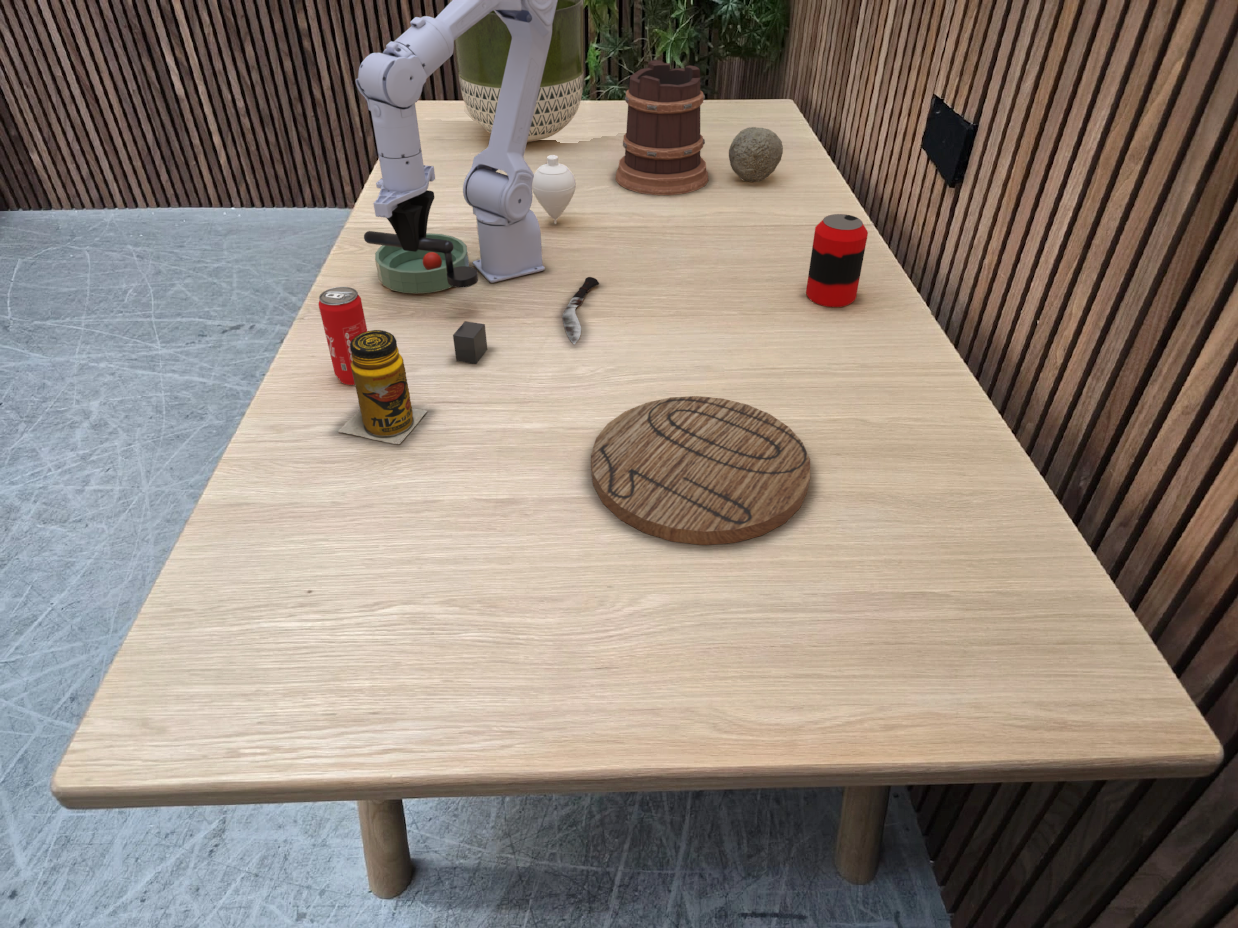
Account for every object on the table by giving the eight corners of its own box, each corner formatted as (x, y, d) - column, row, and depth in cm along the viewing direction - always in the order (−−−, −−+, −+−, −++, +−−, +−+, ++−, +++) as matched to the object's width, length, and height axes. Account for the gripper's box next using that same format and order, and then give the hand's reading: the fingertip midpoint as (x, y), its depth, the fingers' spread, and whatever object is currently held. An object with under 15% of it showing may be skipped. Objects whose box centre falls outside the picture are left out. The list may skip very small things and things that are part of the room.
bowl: (451, 249, 149) (448, 226, 147) (483, 283, 139) (480, 259, 137) (368, 267, 144) (363, 244, 141) (395, 304, 134) (391, 280, 132)
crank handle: (482, 275, 130) (478, 237, 126) (471, 289, 126) (466, 250, 123) (377, 262, 133) (370, 224, 129) (363, 275, 130) (356, 237, 126)
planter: (465, 118, 204) (452, -13, 187) (581, 115, 206) (578, -15, 189) (462, 159, 183) (446, 15, 166) (590, 154, 185) (588, 12, 169)
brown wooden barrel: (696, 152, 186) (701, 50, 174) (717, 193, 169) (725, 82, 156) (608, 155, 185) (607, 52, 172) (620, 197, 167) (620, 86, 155)
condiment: (399, 445, 106) (383, 359, 99) (337, 432, 108) (317, 347, 101) (428, 412, 112) (414, 328, 104) (368, 400, 114) (350, 317, 106)
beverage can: (366, 389, 116) (348, 307, 108) (329, 384, 117) (309, 303, 109) (382, 368, 120) (366, 287, 112) (346, 364, 121) (328, 284, 113)
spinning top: (526, 229, 156) (521, 160, 148) (545, 213, 161) (541, 146, 154) (566, 235, 153) (563, 167, 146) (583, 219, 159) (582, 152, 152)
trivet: (750, 577, 89) (752, 563, 88) (548, 492, 99) (547, 479, 98) (841, 449, 106) (843, 436, 105) (659, 387, 116) (659, 375, 115)
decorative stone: (729, 189, 170) (734, 136, 164) (724, 173, 177) (728, 121, 171) (783, 188, 171) (789, 136, 164) (775, 172, 177) (781, 121, 171)
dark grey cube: (487, 349, 124) (485, 323, 121) (476, 364, 121) (473, 338, 118) (467, 346, 124) (464, 320, 122) (456, 361, 121) (452, 335, 119)
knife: (593, 339, 124) (557, 341, 124) (593, 348, 125) (558, 349, 125) (599, 276, 138) (567, 277, 139) (599, 284, 139) (568, 285, 139)
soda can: (865, 295, 136) (879, 221, 129) (838, 313, 132) (851, 237, 124) (823, 280, 140) (834, 207, 133) (795, 297, 136) (806, 222, 128)
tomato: (439, 264, 143) (436, 247, 142) (445, 272, 141) (443, 254, 140) (421, 269, 142) (418, 251, 140) (427, 276, 140) (425, 258, 138)
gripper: (397, 131, 125) (411, 223, 133) (345, 167, 114) (364, 264, 122) (443, 136, 124) (454, 228, 132) (395, 172, 113) (411, 271, 121)
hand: (414, 246), depth 127 cm, fingers closed on crank handle, 2 cm apart
